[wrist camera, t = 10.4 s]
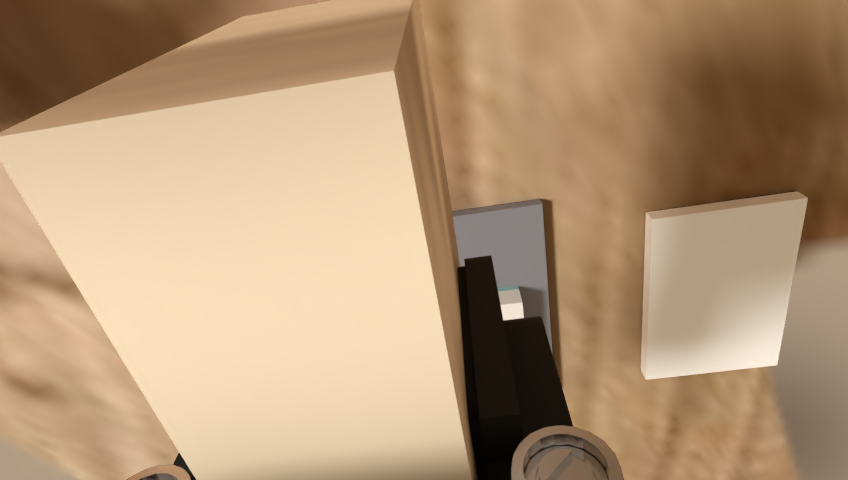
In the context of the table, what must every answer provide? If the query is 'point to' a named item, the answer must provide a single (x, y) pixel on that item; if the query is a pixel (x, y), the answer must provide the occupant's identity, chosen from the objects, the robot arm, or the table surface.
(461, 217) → the mat
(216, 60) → the beige piece
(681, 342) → the pad
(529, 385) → the robot arm
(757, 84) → the table surface
